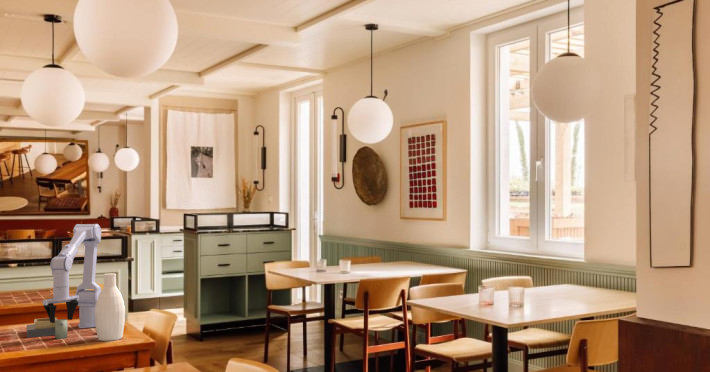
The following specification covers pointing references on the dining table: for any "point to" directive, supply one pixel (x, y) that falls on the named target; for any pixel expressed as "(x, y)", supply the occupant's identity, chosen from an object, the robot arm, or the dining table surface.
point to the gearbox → (41, 328)
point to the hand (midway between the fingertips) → (61, 321)
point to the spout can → (61, 329)
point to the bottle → (110, 311)
